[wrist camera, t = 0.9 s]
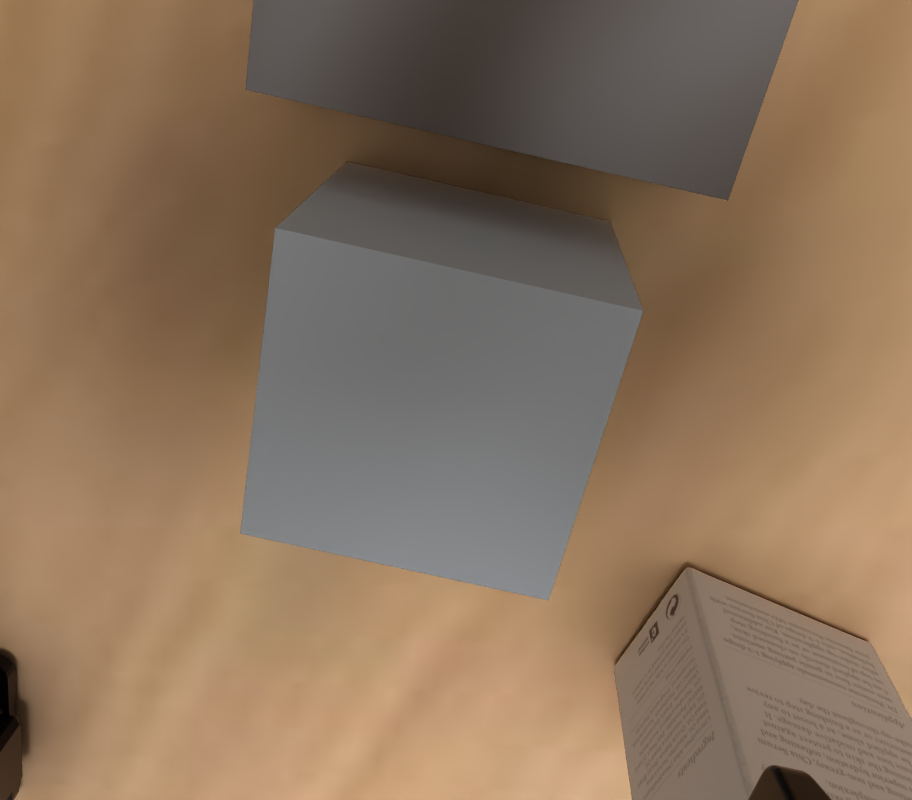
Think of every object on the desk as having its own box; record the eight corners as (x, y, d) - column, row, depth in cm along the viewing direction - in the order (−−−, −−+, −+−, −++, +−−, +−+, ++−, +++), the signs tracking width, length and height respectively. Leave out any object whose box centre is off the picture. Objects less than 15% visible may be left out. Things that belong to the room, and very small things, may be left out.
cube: (312, 397, 21) (240, 533, 16) (347, 160, 19) (275, 228, 13) (543, 448, 21) (548, 600, 16) (610, 220, 19) (643, 310, 13)
